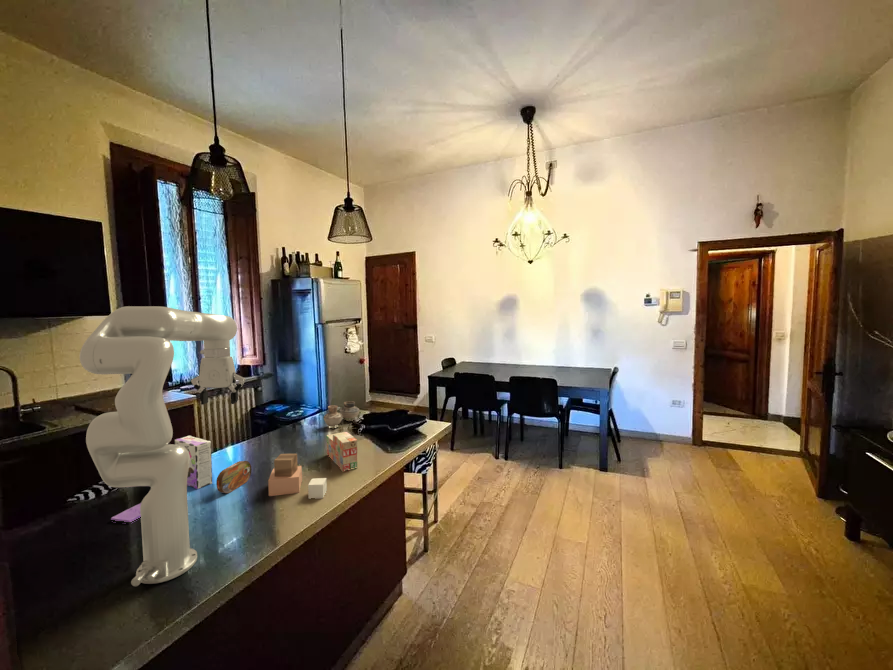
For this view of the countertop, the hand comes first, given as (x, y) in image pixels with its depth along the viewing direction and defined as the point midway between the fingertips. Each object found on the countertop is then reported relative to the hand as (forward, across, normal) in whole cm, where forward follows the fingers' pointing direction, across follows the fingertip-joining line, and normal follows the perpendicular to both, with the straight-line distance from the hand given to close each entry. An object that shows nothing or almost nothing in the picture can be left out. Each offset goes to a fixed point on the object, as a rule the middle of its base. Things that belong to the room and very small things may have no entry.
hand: (219, 403), depth 131 cm
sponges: (+34, -22, -8) cm, 41 cm away
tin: (+34, 0, +8) cm, 35 cm away
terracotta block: (+34, +19, +6) cm, 39 cm away
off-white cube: (+33, +32, 0) cm, 46 cm away
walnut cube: (+28, +19, +6) cm, 34 cm away
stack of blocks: (+34, +34, +29) cm, 56 cm away
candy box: (+34, -17, +13) cm, 40 cm away
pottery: (+34, +24, +84) cm, 93 cm away
